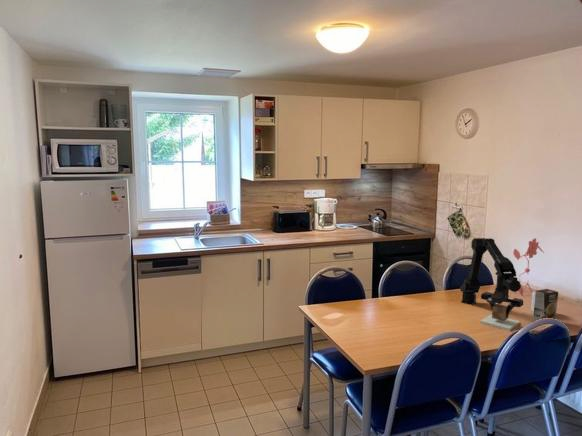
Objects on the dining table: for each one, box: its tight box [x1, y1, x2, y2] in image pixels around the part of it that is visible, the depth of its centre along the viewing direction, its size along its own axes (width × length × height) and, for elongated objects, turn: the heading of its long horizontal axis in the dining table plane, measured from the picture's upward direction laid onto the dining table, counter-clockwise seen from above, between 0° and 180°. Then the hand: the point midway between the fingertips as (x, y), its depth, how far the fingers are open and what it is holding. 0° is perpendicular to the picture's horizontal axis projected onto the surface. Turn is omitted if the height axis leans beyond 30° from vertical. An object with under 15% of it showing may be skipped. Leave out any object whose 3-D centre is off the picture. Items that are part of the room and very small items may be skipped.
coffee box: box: [532, 288, 559, 322], centre depth 228 cm, size 9×6×16 cm
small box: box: [530, 291, 536, 313], centre depth 241 cm, size 8×6×10 cm
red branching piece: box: [512, 237, 545, 296], centre depth 270 cm, size 15×26×35 cm, turn 124°
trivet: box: [480, 313, 521, 332], centre depth 226 cm, size 14×14×1 cm
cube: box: [491, 303, 510, 321], centre depth 225 cm, size 6×6×6 cm
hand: (500, 315), depth 225 cm, fingers closed on cube, 6 cm apart
